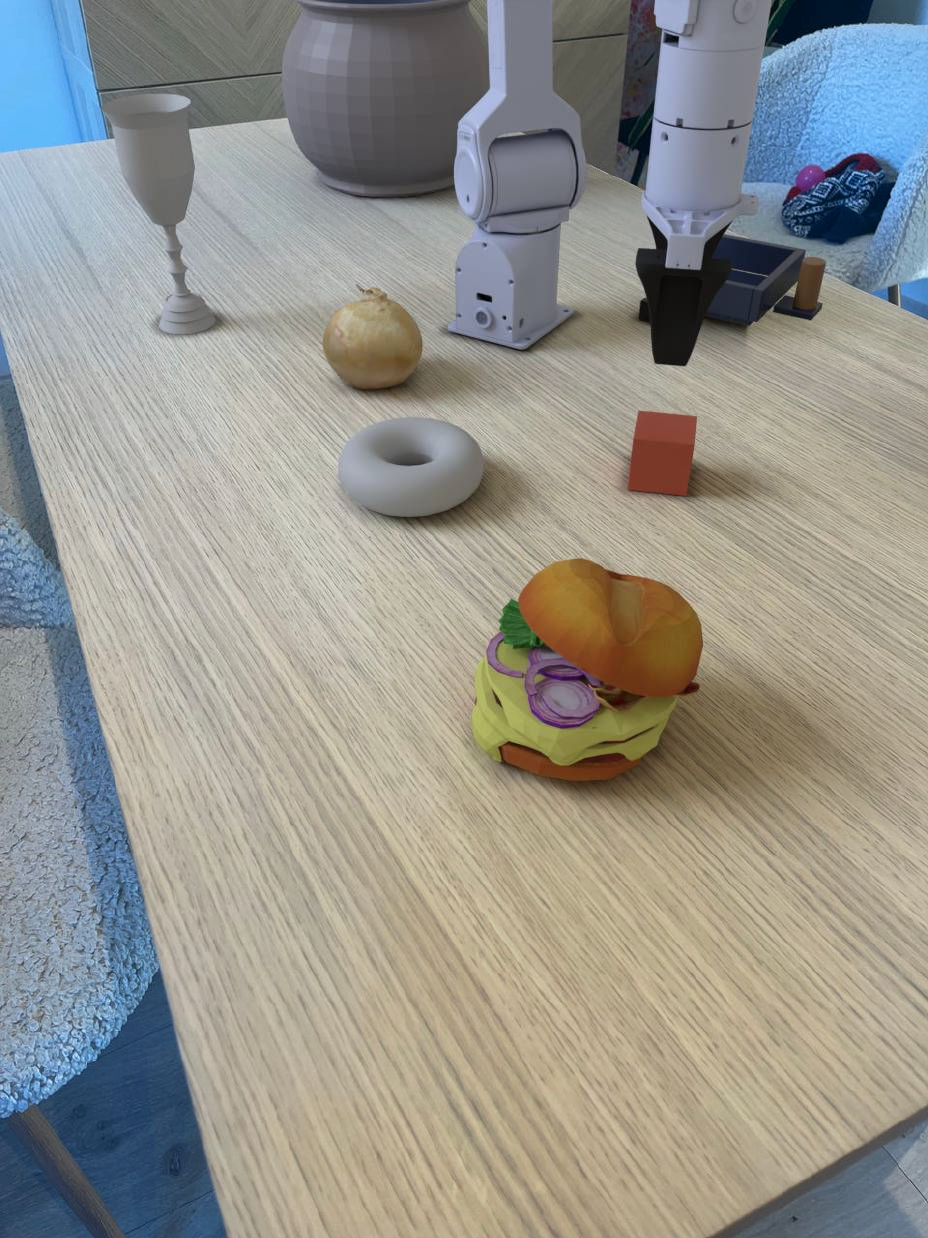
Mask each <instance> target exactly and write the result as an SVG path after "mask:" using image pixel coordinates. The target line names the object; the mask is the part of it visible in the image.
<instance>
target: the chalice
mask: <svg viewBox="0 0 928 1238" xmlns="http://www.w3.org/2000/svg"><path fill="white" fill-rule="evenodd" d="M191 102H192V101H191V98H188V97H187V96H184V95H180V94H172V93H144V94H135V95H129V96H124V97H119V98H116V99H113V100H110V101H108V102H105V103H104V104H103V105H102V106H101V111H102V113H103V114H104V115H105V117H106V118H107V120H108V121H109V123H110V124H111V130H112V134H113V139H114V144H115V148H116V153H117V157H118V163H119V167H120V172H121V176H122V177H123V179H124V181H125V182H126V184H127V186H128V188H129V190H130V192H131V194H132V196H133V197H134V199H135V200H136V201H137V204H138V205H139V206H140V207H141V208H142V210H143V212H144V213H145V214H146V216H147V217H148V219H149V221H150V222H151V223H152V224H154V225H158V226H161V227H162V228H163V231H164V234H165V245H164V247H163V250H164V251H165V252H166V253H167V255H168V258H169V259H170V261H169V266H168V268H167V269H166V270H167V271H166V272H168V273H169V274H170V275H171V277H172V279H173V281H174V290H173V292H172V293H171V294H169V295H167V297H166V298H165V300H164V302H163V303H162V310H161V312H160V316H161V318H160V321H159V322H158V328H159V329H160V330H161V331H162V332H165V333H167V334H172V335H191V334H197V333H200V332H203V331H206V330H208V329H210V328H212V327H213V326H214V325H215V324H216V323H217V319H216V317H215V316H214V315H213V314H212V312H211V309H210V307H209V306H208V305H207V303H206V301H205V299H204V298H203V297H202V296H201V295H200V294H198V293H196V292H194V291H193V292H192V290H191V289H189V288H188V286H187V283H186V272H187V270H188V267H187V266H186V265H185V264H184V263H183V261H182V258H181V254H182V250H183V248H184V247H183V244H182V243H180V240H179V238H178V236H177V224H179V223H181V222H183V221H184V220H185V218H186V215H187V211H188V206H189V203H190V199H191V196H192V192H193V187H194V185H193V184H194V179H195V178H194V177H195V170H196V165H195V160H194V158H195V157H194V153H193V147H192V140H191V135H190V129H189V123H188V114H189V111H190V107H191Z"/></svg>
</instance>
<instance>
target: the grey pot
mask: <svg viewBox="0 0 928 1238" xmlns="http://www.w3.org/2000/svg"><path fill="white" fill-rule="evenodd" d="M293 1H294V2H296V3H297V4H299V5H300V6H301V13H300V15H299V17H298V20H297V21H296V23H295V25H294V26H293V28H292V30H291V32H290V34H289V36H288V39H287V41H286V43H285V46H284V51H283V56H282V64H281V65H282V67H281V89H282V98H283V103H284V110H285V114H286V118H287V122H288V125H289V129H290V132H291V134H292V136H293V139H294V142H295V144H296V145H297V147H298V149H299V151H300V152H301V154H302V155H303V156H304V157H305V158H306V160H308V162H309V163H311V164H312V166H314V167H315V168H317V172H316V175H317V178H318V179H319V180H320V181H321V182H322V183H323V184H325V186H328V187H329V188H331V189H334V190H336V191H339V192H341V193H346V194H350V195H353V196H363V197H374V198H395V197H409V196H417V195H425V194H430V193H436V192H440V191H443V190H447V189H450V188H453V187H455V182H454V164H455V158H456V154H457V131H458V123H459V121H460V120H461V119H462V118H463V116H464V115H465V114H466V113H467V112H468V111H469V110H470V109H471V108H473V107H474V106H475V105H476V104H477V103H478V102H479V100H480V99H481V98H482V97H483V96H484V95H485V94H486V93H487V92H488V90H489V89H490V74H489V44H488V38H487V37H486V35H485V33H484V31H483V29H482V27H481V26H480V24H479V23H478V21H477V20H476V19H475V17H474V15H473V14H472V12H471V10H470V5H469V4H470V2H471V1H472V0H293Z"/></svg>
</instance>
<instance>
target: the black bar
mask: <svg viewBox="0 0 928 1238" xmlns="http://www.w3.org/2000/svg"><path fill="white" fill-rule="evenodd" d="M637 319H638V320H639V321H643V322H648V323H650V315H649V308H648V303H647V298H646V297H642V298H641V299H640V300H639V310H638V318H637Z"/></svg>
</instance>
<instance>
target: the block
mask: <svg viewBox="0 0 928 1238" xmlns="http://www.w3.org/2000/svg"><path fill="white" fill-rule="evenodd" d="M697 420H698V416H697V415H690V414H680V413H679V414H677V413H668V412H659V411H658V412H657V411H648V410H638V411H637V418H636V422H635V427H634V428H635V429H634V432H633V433H634V434H633V439H632V447H631V454H630V455H631V456H630V463H629V464H630V465H629V466H630V467H629V471H628V472H629V473H628V482H627V490H628V491H635V492H643V493H644V492H645V493H646V492H647V493H654V494H663V495H670V496H671V495H672V496H681V497H687V496H688V489H689V483H690V477H691V471H692V465H693V458H694V453H695V446H696V433H697V425H698V423H697V422H698V421H697Z"/></svg>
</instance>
